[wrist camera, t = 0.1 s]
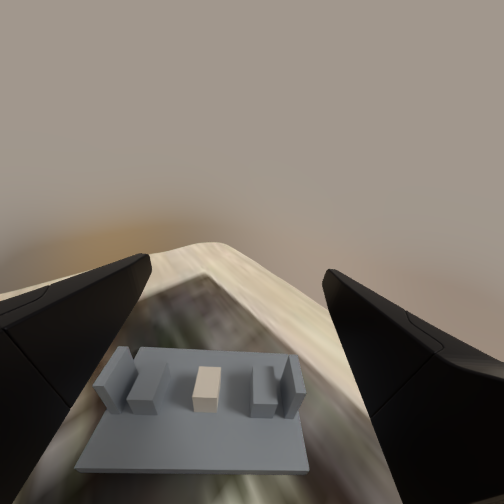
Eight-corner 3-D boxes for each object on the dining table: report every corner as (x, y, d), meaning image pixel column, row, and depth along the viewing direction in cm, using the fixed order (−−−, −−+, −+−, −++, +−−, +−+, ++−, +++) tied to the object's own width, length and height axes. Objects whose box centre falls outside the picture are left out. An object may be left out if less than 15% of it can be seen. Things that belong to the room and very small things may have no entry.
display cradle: (305, 474, 14) (328, 449, 11) (80, 472, 13) (41, 444, 10) (285, 359, 22) (296, 327, 19) (142, 353, 21) (131, 317, 18)
